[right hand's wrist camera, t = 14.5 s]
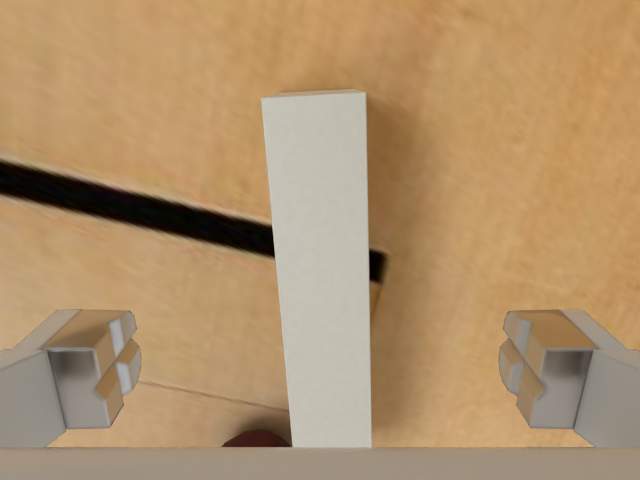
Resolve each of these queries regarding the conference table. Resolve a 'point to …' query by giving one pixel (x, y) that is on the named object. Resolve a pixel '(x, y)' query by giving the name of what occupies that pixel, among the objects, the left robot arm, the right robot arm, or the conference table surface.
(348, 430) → the bar
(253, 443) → the dark red round ball
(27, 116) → the conference table surface
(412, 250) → the conference table surface
